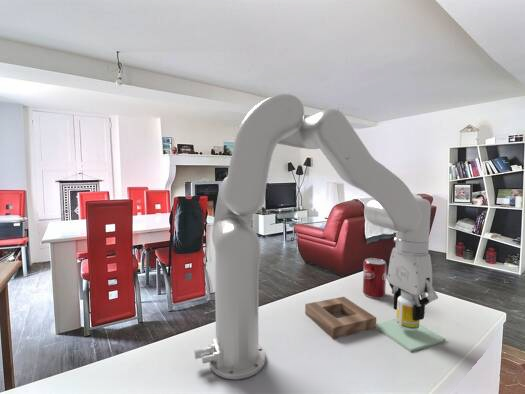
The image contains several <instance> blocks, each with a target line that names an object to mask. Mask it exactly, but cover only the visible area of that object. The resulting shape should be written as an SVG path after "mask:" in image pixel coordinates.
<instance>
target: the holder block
mask: <svg viewBox="0 0 525 394" xmlns="http://www.w3.org/2000/svg"><path fill="white" fill-rule="evenodd" d="M304 310H305V312H304V313H305V315H306V316H307V317H308V318H310V319H311V321H313V322H314V323H315V324H316V325H317V326H318V327H319V328H320V329H321V330H323V332H324V333H326V334H327V335H328V337H330V338H331V339H332V340H335V339H338V338H342V337H346V336H350V335H354V334H355V335H356V334H358V333H362V332H366V331H370V330H374V329H377V328H376V323H377V317H376V316H375V315H374V314H371V312H368V311H367V310H366V309H364V308H362V307H361V306H359V305H357V304H356V303H355V302H353V301H351V300H350V299H349V298H347V297H345V296H340V297H335V298H329V299H325V300H319V301H315V302H309V303H305V308H304ZM337 314H342V315H344V316H343V317H338V318H337V317H335V316H334V315H337Z"/></svg>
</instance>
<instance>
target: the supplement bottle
mask: <svg viewBox="0 0 525 394" xmlns="http://www.w3.org/2000/svg"><path fill="white" fill-rule="evenodd" d="M413 305H416V303H415V298H414V295H413V294H411V293H408V292H406V291H404V290H402V289H401V296H399V297H398V300H397V310H396V317H395V319H396V323H397V325H398V326H399V327H401V328H403V329H406V330H410V331H415V330H417V329H418V328H419V324H420V322H421V320H418V321H415V320H413Z"/></svg>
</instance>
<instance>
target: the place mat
mask: <svg viewBox="0 0 525 394" xmlns="http://www.w3.org/2000/svg"><path fill="white" fill-rule="evenodd" d="M375 329H377V330H378V331H379V332H381V333H382V334H384V335H385V336H386V337H388V338H389V339H391V340H393V342H395V343H397V344H398V345H400V346H401V347H402V348H404V349H405V350H407V351H409V352H410V353H412V352H414V351H415V352H416V351H418V350H422V349H424V348H427V347H430V346H433V345H437V344H440V343H443V342H446V338H445V337H444V336H442V335H440V334H438V333H436V332H435V331H433V330H431V329H429V328H428V327H426V326H424V325H423V324H421V323H419V328H418V329H417V330H415V331H410V330H406V329H403V328H401V327H399V326H398V325H397V323H396V318H393V319H390V320H386V321H382V322H381V321H379V322H376V328H375Z"/></svg>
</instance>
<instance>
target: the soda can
mask: <svg viewBox="0 0 525 394" xmlns="http://www.w3.org/2000/svg"><path fill="white" fill-rule="evenodd" d="M362 275H363V277H362V293H363V295H364V296H365V297H367V298H370V299H383V298H384V297H386V283H387V279H386V275H387V262H386V261H385V260H383V259H381V258H376V257H375V258H374V257H369V258H365V259H364V261H363V274H362Z"/></svg>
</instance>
